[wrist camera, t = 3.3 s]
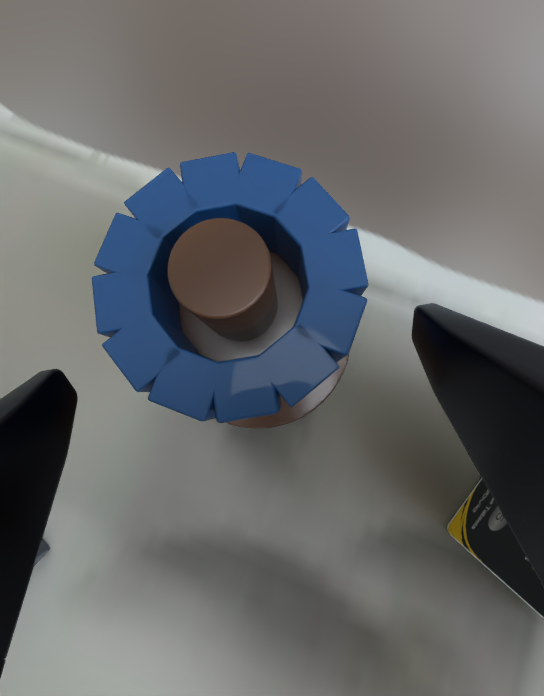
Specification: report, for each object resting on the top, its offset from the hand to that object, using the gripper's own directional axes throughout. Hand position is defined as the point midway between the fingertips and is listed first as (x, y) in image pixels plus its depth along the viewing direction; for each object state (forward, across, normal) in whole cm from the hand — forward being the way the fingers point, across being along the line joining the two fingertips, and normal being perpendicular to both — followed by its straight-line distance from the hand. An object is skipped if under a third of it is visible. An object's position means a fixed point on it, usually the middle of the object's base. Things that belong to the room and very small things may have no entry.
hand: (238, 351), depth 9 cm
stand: (+8, 0, +5) cm, 9 cm away
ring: (+3, 0, 0) cm, 3 cm away
